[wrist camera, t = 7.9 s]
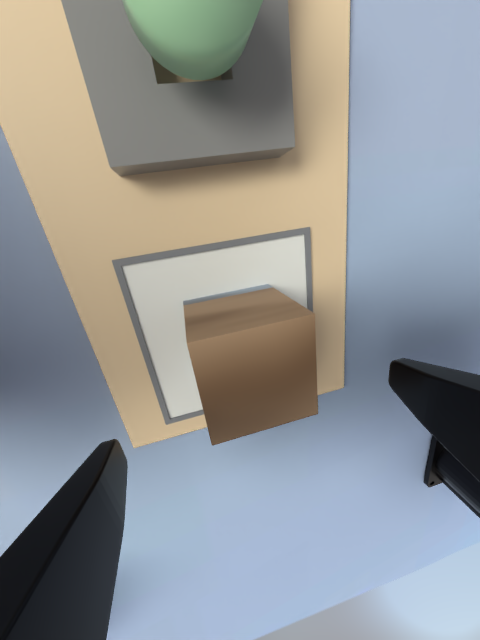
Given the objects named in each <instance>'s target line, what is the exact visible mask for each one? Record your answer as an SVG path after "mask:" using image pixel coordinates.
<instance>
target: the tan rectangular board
mask: <svg viewBox="0 0 480 640" xmlns="http://www.w3.org/2000/svg"><path fill="white" fill-rule="evenodd" d="M288 13H289V33H290V53H291V73H292V92H293V112H294V132H295V147H294V148H293V149H291V150H290V151H288V152H287V153H285V154H284V155H282V156H281V157H279V158H271V159H262V160H254V161H245V162H237V163H228V164H220V165H211V166H203V167H195V168H186V169H178V170H169V171H161V172H152V173H144V174H135V175H127V176H119V175H118V174H117V173H116V172H114V171H113V170H112V169H111V168H110V166H109V163H108V159H107V156H106V152H105V149H104V145H103V142H102V139H101V135H100V132H99V128H98V125H97V122H96V118H95V115H94V111H93V108H92V104H91V101H90V98H89V94H88V91H87V87H86V84H85V81H84V77H83V74H82V70H81V67H80V63H79V60H78V57H77V53H76V50H75V46H74V43H73V40H72V36H71V33H70V29H69V26H68V22H67V19H66V16H65V12H64V9H63V5H62V2H61V0H0V125H1V127H2V130H3V132H4V134H5V137H6V139H7V142H8V144H9V146H10V149H11V151H12V154H13V156H14V159H15V161H16V163H17V166H18V168H19V171H20V173H21V176H22V178H23V180H24V183H25V185H26V188H27V190H28V193H29V195H30V197H31V200H32V202H33V205H34V207H35V210H36V212H37V214H38V217H39V219H40V222H41V224H42V227H43V229H44V231H45V234H46V236H47V239H48V241H49V244H50V246H51V248H52V251H53V253H54V256H55V258H56V261H57V263H58V265H59V268H60V270H61V273H62V275H63V278H64V280H65V282H66V285H67V287H68V290H69V292H70V294H71V297H72V299H73V302H74V304H75V307H76V309H77V311H78V314H79V316H80V319H81V321H82V324H83V326H84V328H85V331H86V333H87V336H88V338H89V341H90V343H91V345H92V348H93V350H94V353H95V355H96V358H97V360H98V362H99V365H100V367H101V370H102V372H103V375H104V377H105V379H106V382H107V384H108V387H109V389H110V392H111V394H112V396H113V399H114V401H115V404H116V406H117V409H118V411H119V413H120V416H121V418H122V421H123V423H124V425H125V428H126V430H127V433H128V435H129V438H130V440H131V442H132V445H133V447H134V448H137V447H140V446H143V445H147V444H150V443H154V442H157V441H161V440H164V439H168V438H171V437H175V436H178V435H182V434H185V433H188V432H192V431H195V430H199V429H202V428H206V427H207V423H206V419H205V415H204V411H203V407H202V403H201V399H200V395H199V391H198V387H197V383H196V379H195V375H194V371H193V367H192V363H191V359H190V355H189V351H188V347H187V342H186V330H185V319H184V307H183V301H186V300H191V299H196V298H201V297H206V296H210V295H215V294H220V293H225V292H230V291H235V290H240V289H245V288H250V287H255V286H260V285H265V284H269V285H270V286H272V287H273V288H275V289H277V290H278V291H280V292H281V293H283V294H285V295H286V296H288V297H289V298H291V299H292V300H294V301H296V302H297V303H299V304H300V305H302V306H304V307H305V308H307V309H308V310H310V311H311V312H313V313H315V330H316V362H317V395H320V394H324V393H327V392H330V391H334V390H337V389H341V388H344V352H345V289H346V227H347V164H348V102H349V39H350V0H288ZM151 57H152V56H151ZM152 62H153V66H154V71H155V76H156V81H157V84H166V83H182V82H198V81H214V80H222V79H221V75H220V76H218V77H215V78H212V79H207V80H192V79H187V78H184V77H181V76H178V75H176V74H174V73H172V72H170V71H169V70H167V69H166V68H164V67H163V66H162V65H161V64H159V63H158V62H157V61H156V60H155V59H154V58H153V57H152Z"/></svg>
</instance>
